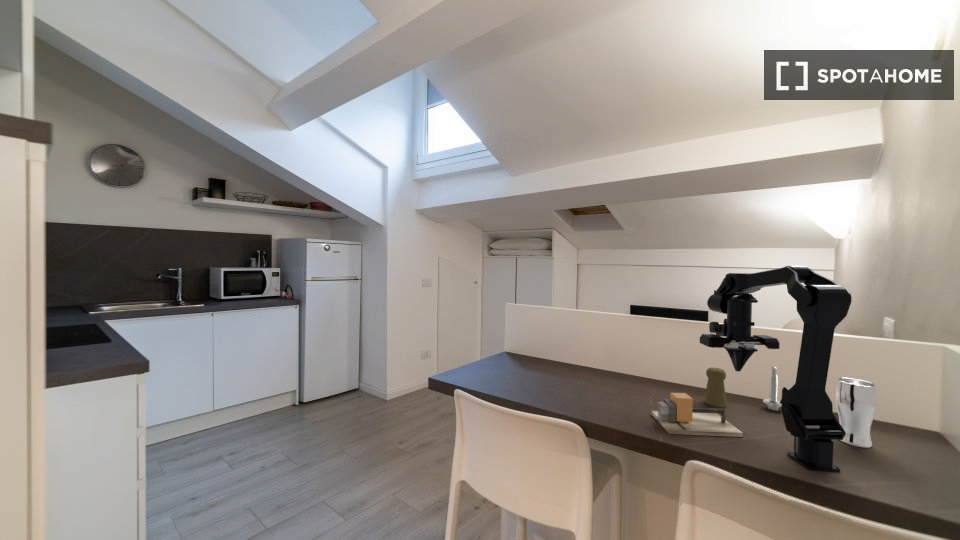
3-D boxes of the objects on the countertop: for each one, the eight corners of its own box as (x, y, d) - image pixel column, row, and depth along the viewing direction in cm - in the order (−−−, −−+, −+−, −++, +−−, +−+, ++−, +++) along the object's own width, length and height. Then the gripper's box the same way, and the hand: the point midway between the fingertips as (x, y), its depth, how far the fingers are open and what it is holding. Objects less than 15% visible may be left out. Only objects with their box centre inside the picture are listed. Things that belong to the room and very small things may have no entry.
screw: (776, 413, 107) (759, 407, 111) (787, 411, 108) (769, 404, 113) (778, 369, 106) (760, 364, 111) (788, 367, 108) (770, 363, 112)
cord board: (743, 436, 92) (743, 413, 92) (669, 433, 94) (669, 410, 94) (716, 416, 104) (717, 395, 104) (651, 414, 106) (651, 393, 106)
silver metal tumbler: (832, 432, 95) (834, 375, 95) (871, 440, 91) (873, 381, 90) (836, 442, 90) (838, 382, 89) (877, 452, 85) (879, 388, 85)
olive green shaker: (730, 408, 110) (731, 372, 110) (708, 406, 112) (709, 370, 111) (721, 400, 116) (722, 366, 116) (700, 398, 118) (701, 365, 117)
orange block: (692, 421, 97) (692, 398, 97) (676, 421, 98) (677, 398, 97) (685, 415, 101) (685, 393, 101) (670, 414, 102) (670, 392, 101)
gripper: (754, 313, 111) (753, 363, 112) (690, 312, 113) (689, 362, 113) (781, 319, 100) (780, 375, 101) (710, 318, 102) (709, 373, 102)
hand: (737, 371), depth 104 cm, fingers closed
